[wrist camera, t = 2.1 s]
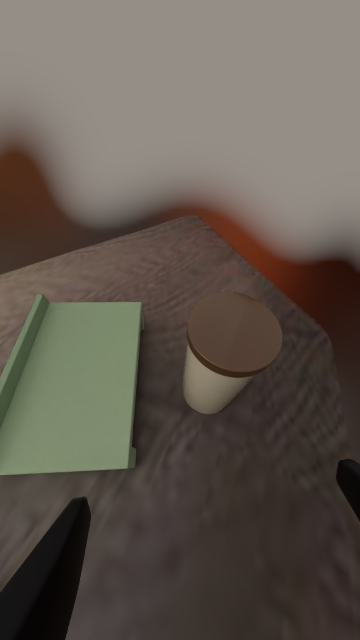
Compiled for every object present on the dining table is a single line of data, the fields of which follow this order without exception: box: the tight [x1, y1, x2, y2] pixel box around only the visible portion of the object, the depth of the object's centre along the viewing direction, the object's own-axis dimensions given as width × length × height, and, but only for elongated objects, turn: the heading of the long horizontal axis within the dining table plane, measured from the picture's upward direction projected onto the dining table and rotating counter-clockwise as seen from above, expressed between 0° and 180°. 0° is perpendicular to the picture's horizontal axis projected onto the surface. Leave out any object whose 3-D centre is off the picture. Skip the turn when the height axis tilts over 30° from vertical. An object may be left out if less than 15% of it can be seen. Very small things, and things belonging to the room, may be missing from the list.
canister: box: [182, 292, 282, 414], centre depth 18 cm, size 6×6×12 cm
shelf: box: [0, 294, 145, 475], centre depth 21 cm, size 16×11×6 cm
